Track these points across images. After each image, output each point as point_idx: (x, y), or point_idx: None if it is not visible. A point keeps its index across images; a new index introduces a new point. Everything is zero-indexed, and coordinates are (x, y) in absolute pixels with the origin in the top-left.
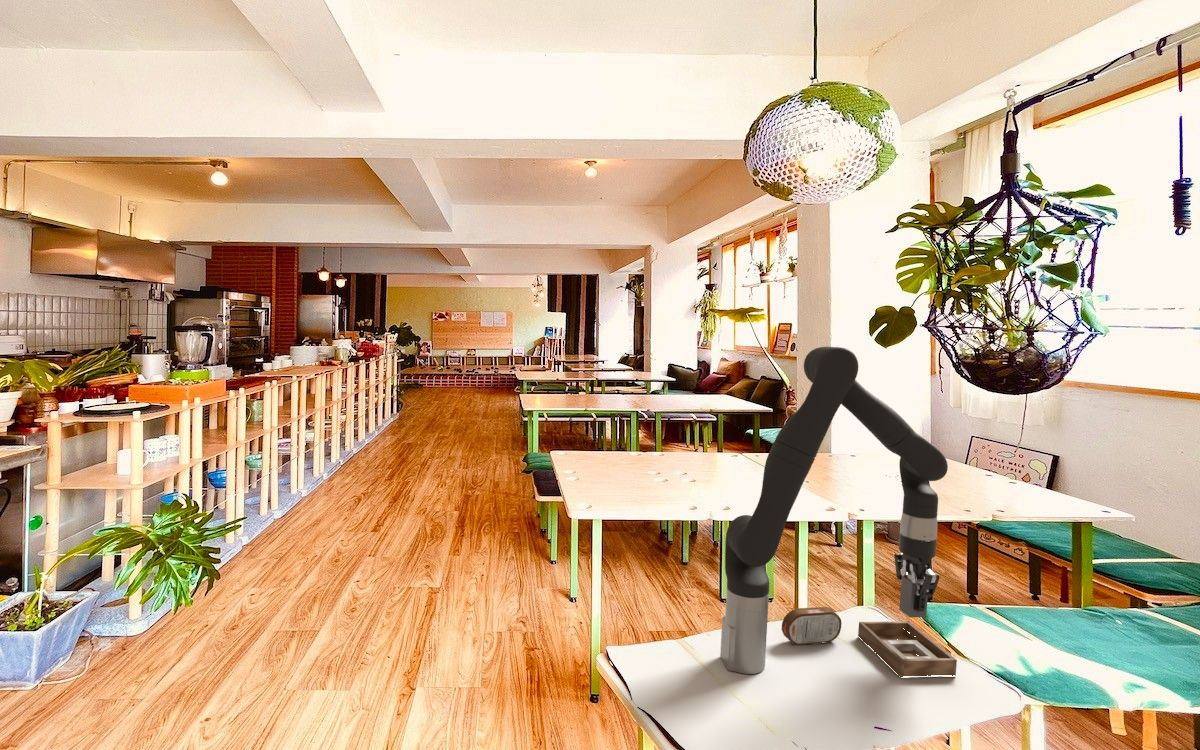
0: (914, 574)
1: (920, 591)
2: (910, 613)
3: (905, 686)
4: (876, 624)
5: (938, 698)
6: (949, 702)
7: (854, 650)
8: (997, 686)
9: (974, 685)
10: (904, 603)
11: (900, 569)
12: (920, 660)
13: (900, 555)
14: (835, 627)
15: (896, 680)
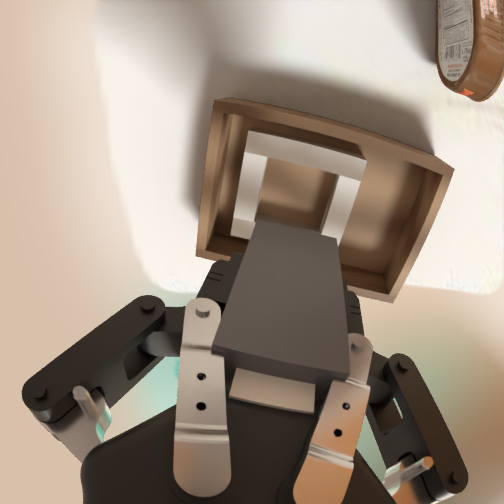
0: (176, 409)
1: (157, 316)
2: (253, 229)
3: (195, 87)
4: (426, 212)
5: (144, 131)
6: (130, 144)
7: (385, 86)
8: (172, 281)
9: (178, 245)
10: (300, 253)
11: (403, 416)
12: (207, 160)
13: (425, 499)
14: (453, 68)
15: (223, 82)
